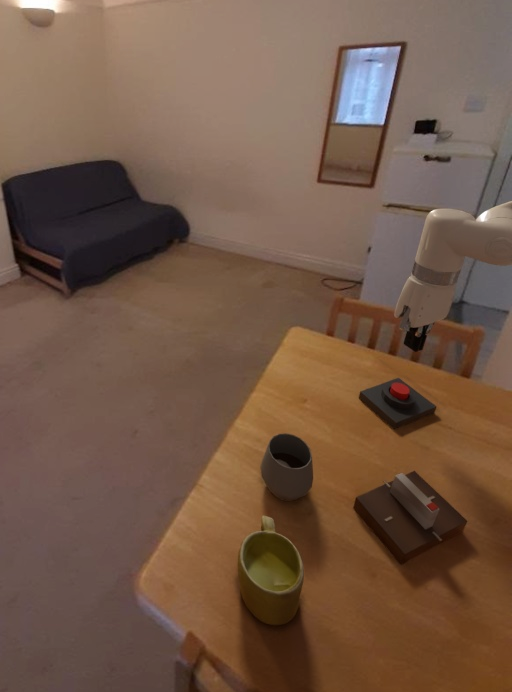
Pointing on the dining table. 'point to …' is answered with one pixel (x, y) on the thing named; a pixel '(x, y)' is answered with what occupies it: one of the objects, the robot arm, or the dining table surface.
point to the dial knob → (414, 501)
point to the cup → (287, 467)
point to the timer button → (399, 391)
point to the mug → (270, 575)
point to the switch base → (407, 520)
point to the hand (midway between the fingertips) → (412, 347)
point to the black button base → (396, 404)
